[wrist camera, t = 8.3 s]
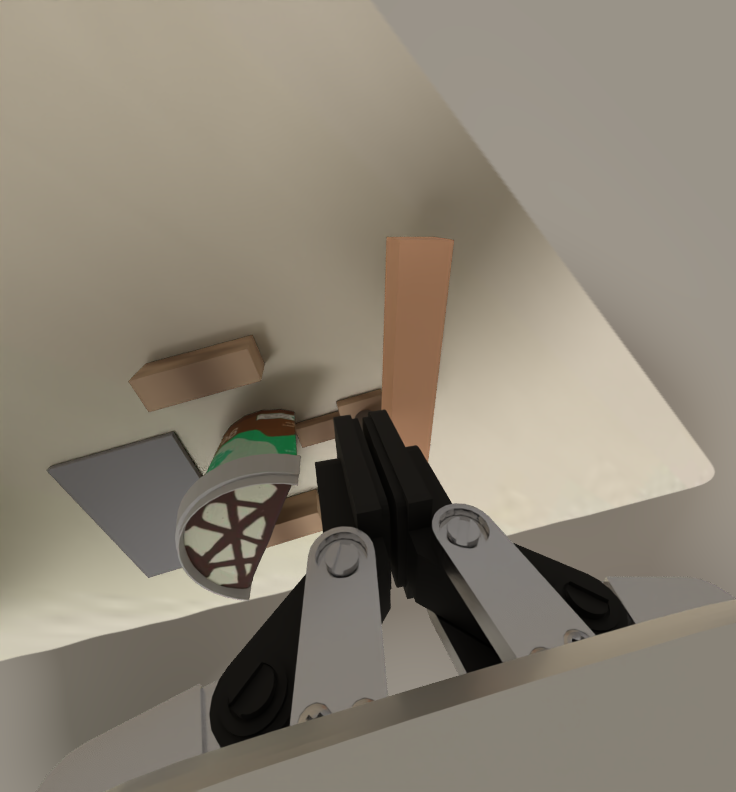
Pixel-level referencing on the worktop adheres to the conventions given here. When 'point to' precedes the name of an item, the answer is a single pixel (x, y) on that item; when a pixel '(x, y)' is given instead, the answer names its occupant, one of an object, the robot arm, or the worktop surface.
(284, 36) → the worktop surface
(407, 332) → the tall wooden post
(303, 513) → the wooden blocks
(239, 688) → the robot arm
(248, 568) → the food container
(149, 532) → the mat
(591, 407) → the worktop surface
